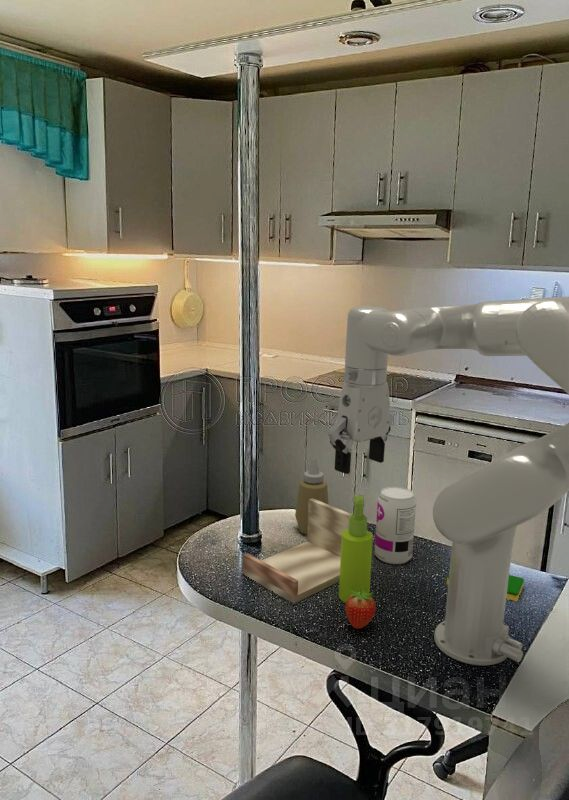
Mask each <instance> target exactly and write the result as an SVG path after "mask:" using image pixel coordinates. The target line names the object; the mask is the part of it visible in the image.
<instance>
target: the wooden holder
mask: <svg viewBox="0 0 569 800" xmlns="http://www.w3.org/2000/svg"><path fill="white" fill-rule="evenodd" d="M328 504H329V503H328ZM328 504H325V503H323V502H320V501H318V500H316V499H313V498H312V499H309V504H308V532H307V535H306V536H307V537H306V539H307V540H306V541H305V542H302V543H300V544H298V545H294V546H293V547H290V548H288V549H286V550H282V551H281V552H279V553H276V554H273V555H270V556H269V557H266V558H264V559H261V560H260V559H259V558H257V557H255V556H254V555H251V554H250V553H248V552H245V553H243V554H242V575H243V574H244V575H245V577H246V576H247V578H248V577H249V578H248V579H250V580H251V579H252V581H253V580H254V581H253V582H255V581H256V582H255V583H257V584H258V583H259V585H260V584H261V585H260V586H262V587H264V588H265V589H267V590H269V591H270V592H272V591H273V593H274V594H276V595H278V596H279V597H281V598H283V599H285V600H286V601H288V602H290V603H291V604H294V605H295V604H296V603H298V602H301V601H303V600H304V599H307V598H308V597H312V596H313V595H314V594H316V593H318V592H321V591H322V590H325V589H327V588H329V587H331V586H333V585H335V584H337V583H339V581H340V560H341V540H342V532H343V531H344V530H346V529H349V517H350V515H352V514H353V513H349V512H347V511H345V510H343V509H340V508H337V507H335V506H332V505H330V504H329V505H328ZM244 575H243V576H244Z"/></svg>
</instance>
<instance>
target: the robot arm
mask: <svg viewBox="0 0 569 800" xmlns="http://www.w3.org/2000/svg"><path fill="white" fill-rule="evenodd" d="M346 319H347V320H346V321H347V322H346V323H347V325H346V337H345V339H346V340H345V358H344V361H345V362H344V374H343V384H342V386H341V391H340V396H339V402H338V407H337V408H338V409H337V419H336V422H335V423H334V424H333V425H332V426H331V427H330V428H329V429H328V430H327V435H328V438H329V443H330V445H331V446H332V449H333V450H335V454H334V456H335V457H334V470H335V471H337V472H339V473H342V474H346V475H349V474H350V473H351V461H352V460H351V458H352V453H351V452H350V450H351V448H352V446H353V445H354V443H363V442H367V441H369V448H368V449H369V450H368V459H369V460H370V461H374V462H377V463H380V464H381V463H384V462H385V461H384V460H385V447H386V442H388V435H389V433H390V432H391V426H392V424H393V421H394V418H395V417H394V415H393V414H391V413H390V411H391V408H390V407H391V405H390V404H391V403H390V389H389V384H388V382H387V375H388V374H387V371H388V359H389V355H390V356H395V357H403V356H408V355H412V354H415V353H420V352H425V351H431V350H432V351H433V350H462V349H463V350H472V351H476V352H478V353H479V355H481V356H485V357H513V356H514V357H518V356H519V357H522V356H523V357H524V356H525V357H527V358H528V359H529V360H531V362H532V363H533V364H534V365H535V366H536V367H537V368H539V369H540V371H542V372H543V373H544V374H545V375H546V376H547V377H549V378H550V379H551V380H552V381H553V382H554V383H555V384H556V385H558V386H559V387H560V388H561V390H563V391H565V393H567V395H569V296H556V297H554V296H553V297H552V296H551V297H539V298H538V297H537V298H521V299H507V300H490V301H487V300H486V301H482V302H477V303H475V304H463V305H449V306H446V305H445V306H431V307H417V308H408V309H402V310H393V311H389V310H388V309H387V308H384V307H381V306H380V307H379V306H373V305H372V306H371V305H359V306H358V305H357V306H354V307H352V308H350V310H349V311H348V314H347V318H346ZM344 440H346V442H345V443H344ZM568 492H569V422H567V423H565V424H564V425H562V426H560V427H558V428H557V429H555V430H553V431H550V432H549V433H546V434H545V435H543V436H541V437H539V438H536V439H535V440H532V441H528V442H526V443H523V444H521V445H519V446H517V447H516V448H514V449H512V450H511V451H509V452H507V453H505V454H504V455H502V456H500V457H499V458H497V459H495V460H494V461H491V462H490V463H488V464H486V465H485V466H483V467H478V468H476V469H474V470H471V471H469V472H468V473H467V474H464V475H463V476H461V477H459V479H457V480H455V481H454V482H452V483H450V484H448V485H447V486H446V487H444V488H443V489H441V491H440V492H439V493H438V494H437V496H436V498H435V501H434V502H433V506H432V519H433V522H434V525H435V528H436V529H437V530H438V532H439V533H440V534H441V535H442V536H443V537H444V538H445V539H447V540H448V541H450V542H452V544H451V551H450V552H451V553H450V562H449V572H448V573H449V583H448V585H447V595H446V604H445V605H446V606H445V616H444V620H443V621H441V622H440V623H439V624H437V626H436V627H435V629H434V634H433V635H434V636H433V637H434V642H435V644H436V646H437V647H438V649H440V651H441V652H442V653H444V654H445V655H446V656H448V657H450V658H452V659H454V660H456V661H458V662H461V663H464V664H468V665H473V666H492V665H496V664H500V663H502V662H503V661H505V660H506V659H510V660H513V661H515V662H517V663H519V662H521V660H522V658H523V656H524V651H523V650H522V649H523V645H524V644H523V643H522V642H521V641H518V640H516V639H513V638H512V637H511V636H510V635H509V631H510V629H509V628H510V626H509V625H506V624H504V623H505V621H504V619H505V612H506V603H507V600H506V596H507V587H508V578H509V575H510V569H511V561H512V554H513V553H512V552H513V547H514V540H515V535H516V531H517V527H518V526H519V525H522V524H524V523H526V522H528V521H530V520H532V519H534V518H536V517H538V516H540V515H541V514H543V513H545V512H546V511H547V510H548V509H550V508H551V507H552V506H553V505H555V504H556V503H557V502H558V501H559V500H561V498H562V497H564V496H565V495H566V494H567V493H568Z"/></svg>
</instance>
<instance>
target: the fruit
mask: <svg viewBox="0 0 569 800" xmlns="http://www.w3.org/2000/svg"><path fill="white" fill-rule="evenodd" d="M349 589H350V591H351V592H352V593H353V594H351V593H349V594H350V595H351V596H349V598H348V599H347V601H346V603H345V614H346V618H347V619H348V622H349V623H350V625H351V626H352V627H353V628H354V629H356V630H359V629H362V628H365V627H366V626H367V625H368V624H369V623H370V622H371V621H372V620H373V618H374V617H375V615H376V610H377V606H376V602H375V600H374V598H373V596H371V595H372V594H374V593H375V592H374V591H372V592H370V593H368V594H367V593H366V588H365V589H364V590H363V591H362V588H361V591H360V592H356V591H354V590H352V589H351V588H349Z"/></svg>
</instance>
